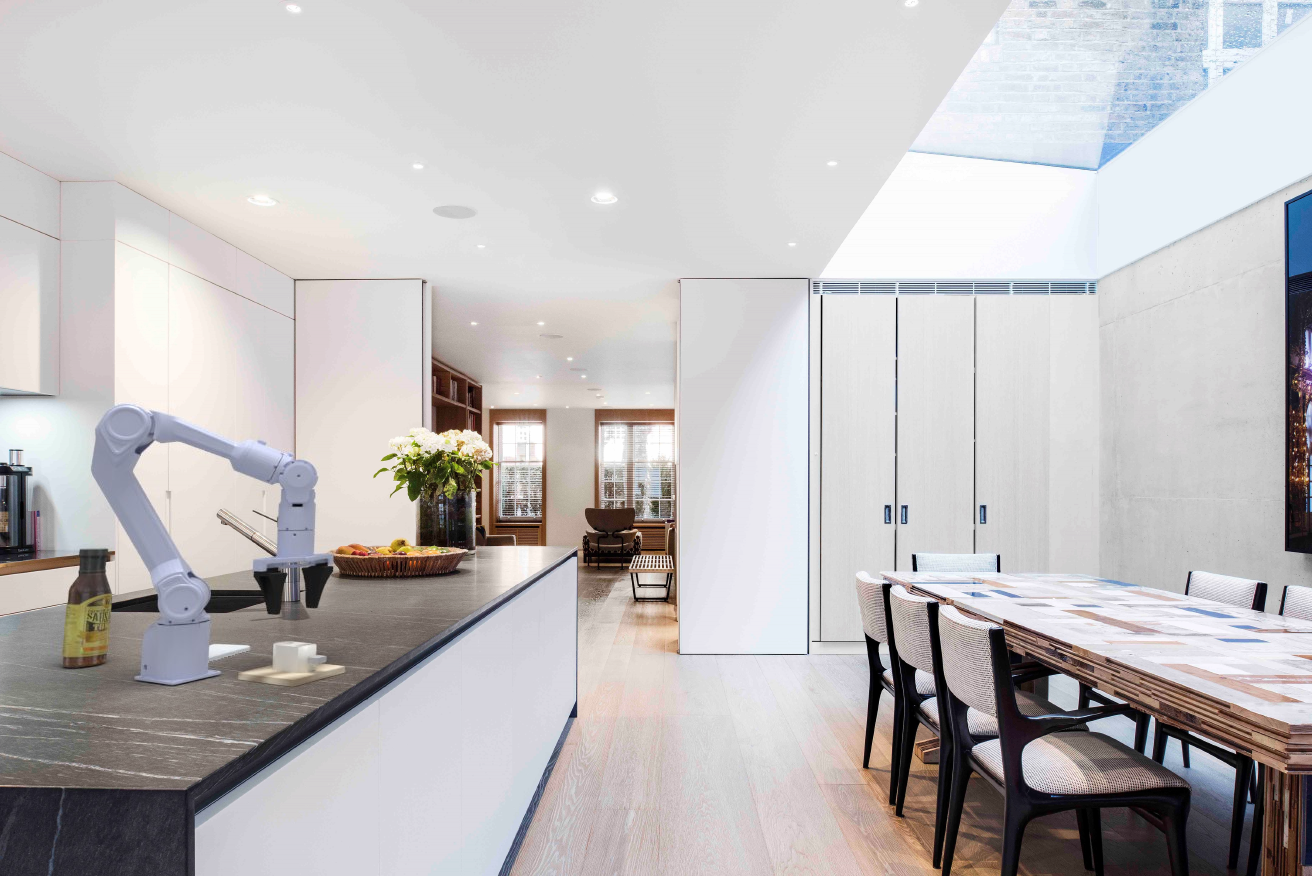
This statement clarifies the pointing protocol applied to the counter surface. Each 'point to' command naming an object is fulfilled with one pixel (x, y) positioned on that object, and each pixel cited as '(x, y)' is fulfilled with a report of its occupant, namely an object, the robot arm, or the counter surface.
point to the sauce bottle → (88, 612)
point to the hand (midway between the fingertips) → (293, 611)
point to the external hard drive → (225, 650)
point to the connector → (296, 657)
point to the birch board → (290, 675)
